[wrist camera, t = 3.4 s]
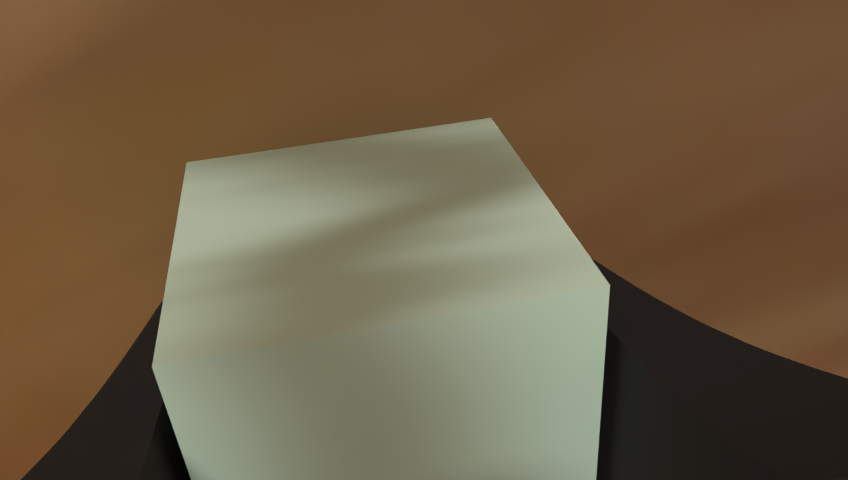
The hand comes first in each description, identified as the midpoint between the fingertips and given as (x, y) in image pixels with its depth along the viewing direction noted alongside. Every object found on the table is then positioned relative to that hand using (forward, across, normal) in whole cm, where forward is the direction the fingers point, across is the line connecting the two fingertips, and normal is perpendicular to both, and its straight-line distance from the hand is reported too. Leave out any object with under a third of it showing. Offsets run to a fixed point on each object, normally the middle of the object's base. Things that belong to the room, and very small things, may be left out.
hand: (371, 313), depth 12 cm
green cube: (+2, 0, 0) cm, 2 cm away
